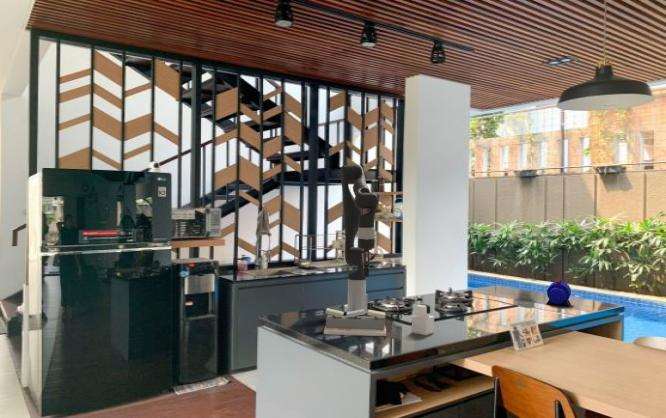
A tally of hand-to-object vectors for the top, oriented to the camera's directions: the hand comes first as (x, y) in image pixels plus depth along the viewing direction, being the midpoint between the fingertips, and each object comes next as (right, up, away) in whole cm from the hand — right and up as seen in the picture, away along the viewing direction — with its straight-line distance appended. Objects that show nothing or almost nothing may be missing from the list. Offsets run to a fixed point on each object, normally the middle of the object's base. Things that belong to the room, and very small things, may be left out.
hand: (366, 276), depth 229 cm
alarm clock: (+115, -25, +66) cm, 135 cm away
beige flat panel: (+4, -17, -7) cm, 19 cm away
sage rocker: (-14, -17, -6) cm, 23 cm away
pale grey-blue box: (-5, -17, -7) cm, 19 cm away
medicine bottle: (+24, -23, -9) cm, 34 cm away
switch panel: (-5, -23, -9) cm, 25 cm away
